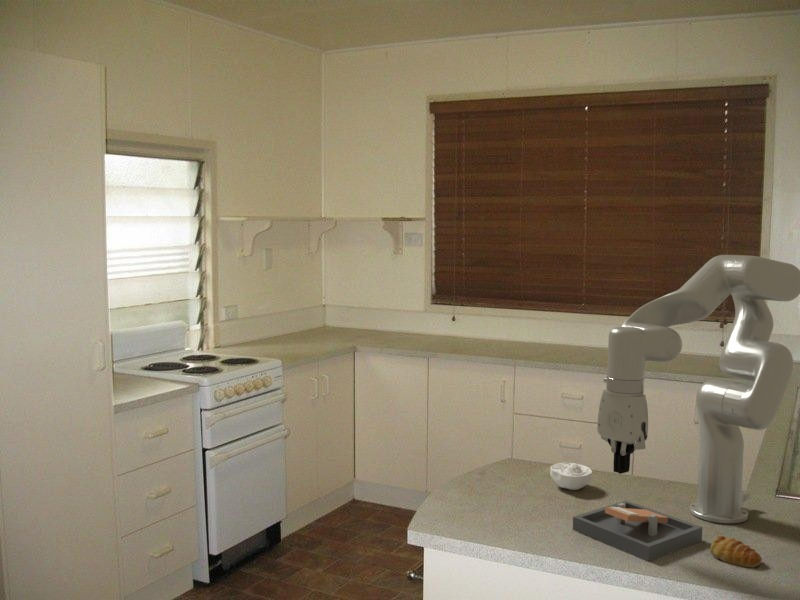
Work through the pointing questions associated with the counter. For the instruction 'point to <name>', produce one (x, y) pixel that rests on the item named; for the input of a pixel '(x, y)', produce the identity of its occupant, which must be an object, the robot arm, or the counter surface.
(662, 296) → the robot arm
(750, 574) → the counter surface
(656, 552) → the breaker panel
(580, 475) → the cell model
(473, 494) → the counter surface
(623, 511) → the rocker
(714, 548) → the pastry
